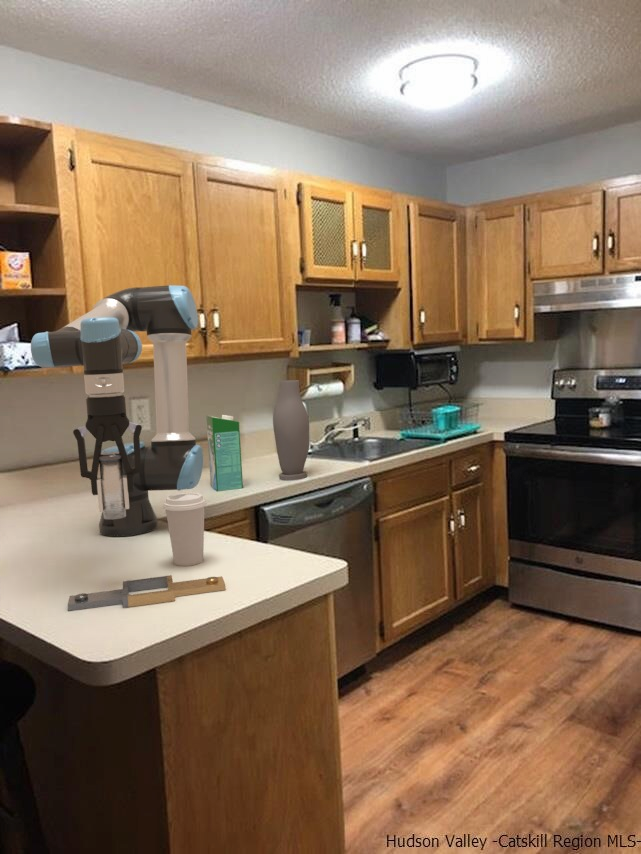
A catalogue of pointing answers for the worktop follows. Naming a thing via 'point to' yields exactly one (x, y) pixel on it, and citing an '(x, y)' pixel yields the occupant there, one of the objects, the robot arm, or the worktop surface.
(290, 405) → the vase
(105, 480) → the pin
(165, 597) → the link plate bronze
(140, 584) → the link plate steel
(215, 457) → the milk carton
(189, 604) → the worktop surface
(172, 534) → the coffee cup
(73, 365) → the robot arm
